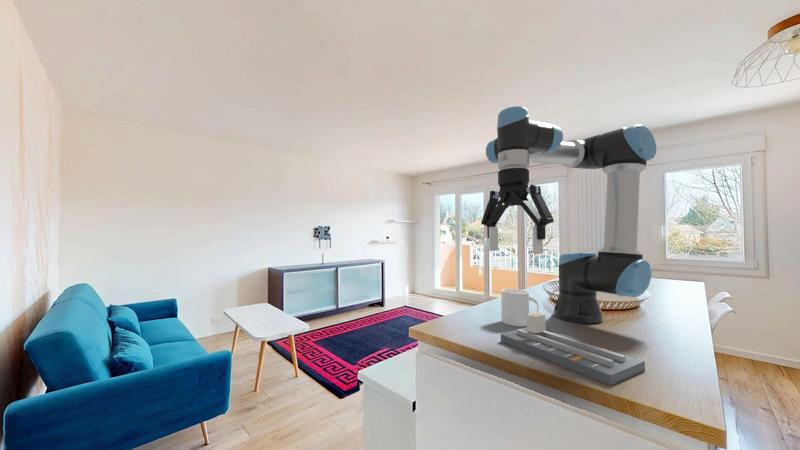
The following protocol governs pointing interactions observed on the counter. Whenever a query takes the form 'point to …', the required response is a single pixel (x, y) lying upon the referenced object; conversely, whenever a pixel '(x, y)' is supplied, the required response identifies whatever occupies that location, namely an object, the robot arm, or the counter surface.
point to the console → (576, 355)
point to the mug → (515, 307)
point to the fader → (536, 323)
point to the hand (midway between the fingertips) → (514, 252)
